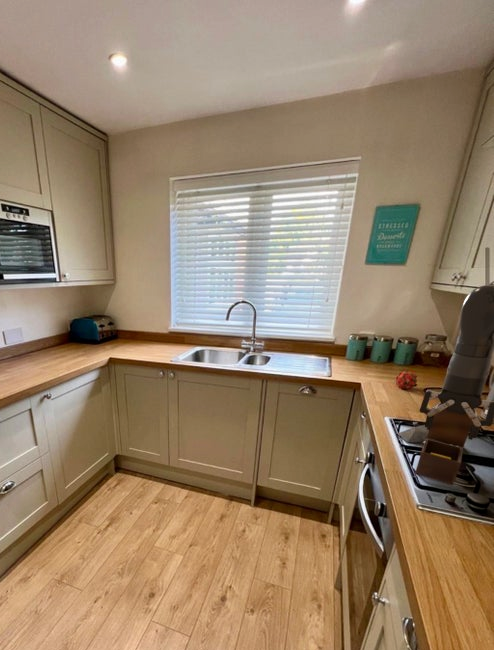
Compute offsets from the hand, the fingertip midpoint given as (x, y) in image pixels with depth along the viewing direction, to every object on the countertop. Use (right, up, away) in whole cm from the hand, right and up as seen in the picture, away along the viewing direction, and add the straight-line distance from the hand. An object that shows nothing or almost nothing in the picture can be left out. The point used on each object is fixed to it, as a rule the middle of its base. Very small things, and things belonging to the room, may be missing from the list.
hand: (448, 433), depth 85 cm
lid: (+3, +1, +3) cm, 5 cm away
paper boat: (+8, -5, +23) cm, 24 cm away
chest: (+1, -11, +6) cm, 12 cm away
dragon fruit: (+36, +14, +71) cm, 81 cm away
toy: (0, -11, +4) cm, 12 cm away
